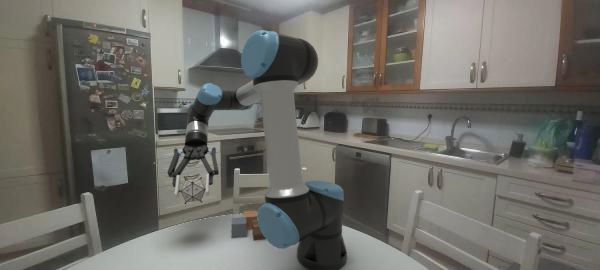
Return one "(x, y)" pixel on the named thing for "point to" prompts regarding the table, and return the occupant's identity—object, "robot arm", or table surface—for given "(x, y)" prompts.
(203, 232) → the table surface
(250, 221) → the terracotta block
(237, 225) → the slate block
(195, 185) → the game die
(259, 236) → the walnut block
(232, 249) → the table surface
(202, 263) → the table surface
